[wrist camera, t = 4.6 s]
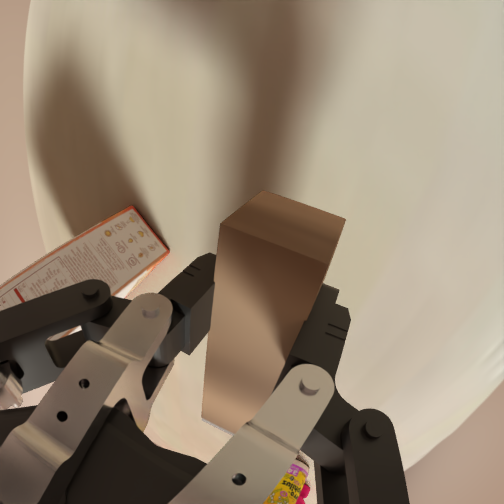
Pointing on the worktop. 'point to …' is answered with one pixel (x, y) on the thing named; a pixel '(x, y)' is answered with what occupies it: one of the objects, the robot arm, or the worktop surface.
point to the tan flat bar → (261, 300)
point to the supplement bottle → (289, 485)
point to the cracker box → (91, 262)
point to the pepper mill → (303, 494)
